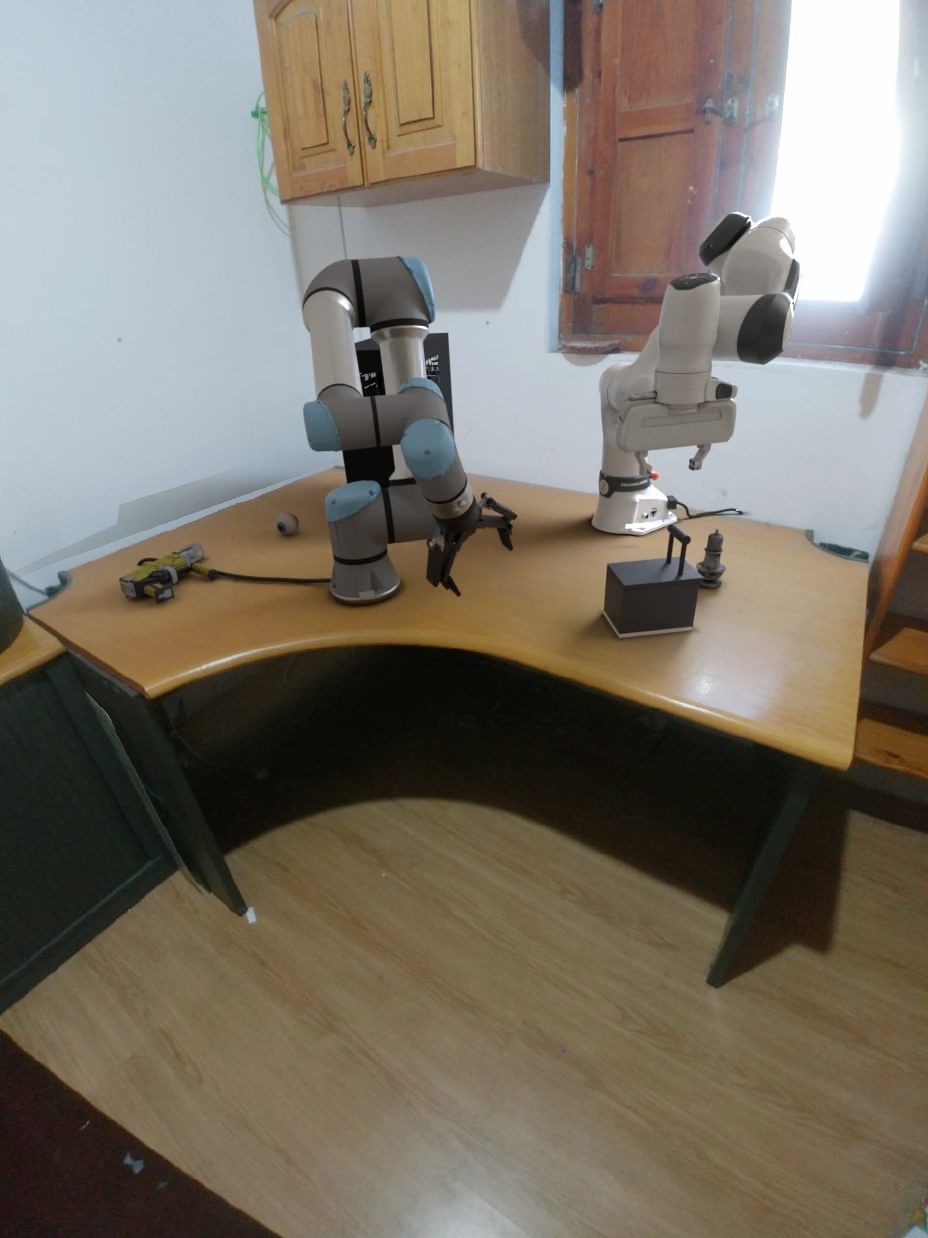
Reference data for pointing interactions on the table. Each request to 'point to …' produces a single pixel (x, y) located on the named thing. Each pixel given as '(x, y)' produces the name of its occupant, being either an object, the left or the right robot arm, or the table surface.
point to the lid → (658, 567)
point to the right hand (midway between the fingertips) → (669, 472)
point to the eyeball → (287, 523)
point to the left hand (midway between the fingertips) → (481, 569)
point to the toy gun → (164, 574)
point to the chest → (649, 608)
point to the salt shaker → (712, 561)
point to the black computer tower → (381, 459)
